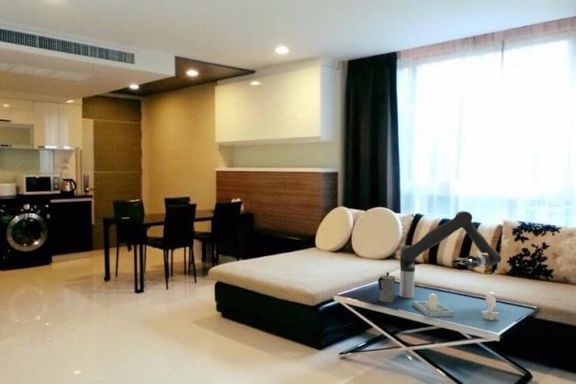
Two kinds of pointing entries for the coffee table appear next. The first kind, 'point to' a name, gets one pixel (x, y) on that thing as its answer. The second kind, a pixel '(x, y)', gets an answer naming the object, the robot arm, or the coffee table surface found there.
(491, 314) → the figurine
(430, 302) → the white tall cylinder
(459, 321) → the coffee table surface
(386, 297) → the coffeepot
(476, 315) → the coffee table surface
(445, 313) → the muffin tray
